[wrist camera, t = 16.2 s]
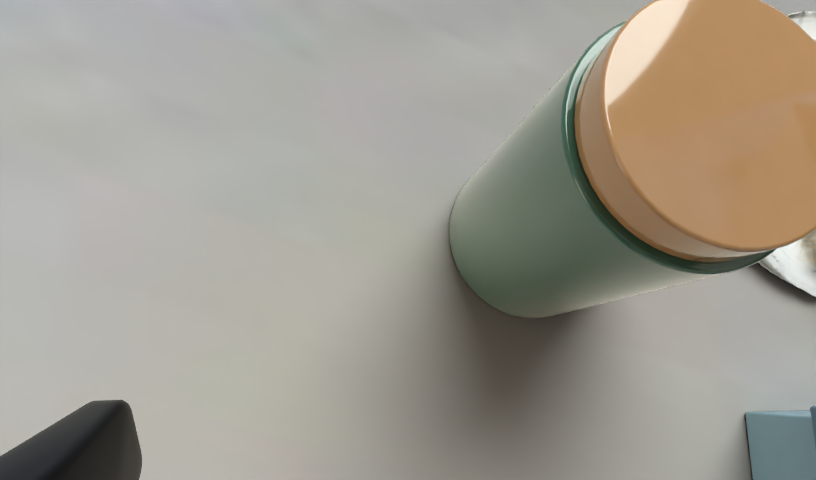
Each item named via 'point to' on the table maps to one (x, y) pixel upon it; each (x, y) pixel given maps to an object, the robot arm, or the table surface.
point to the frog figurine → (812, 255)
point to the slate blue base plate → (782, 444)
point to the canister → (649, 163)
